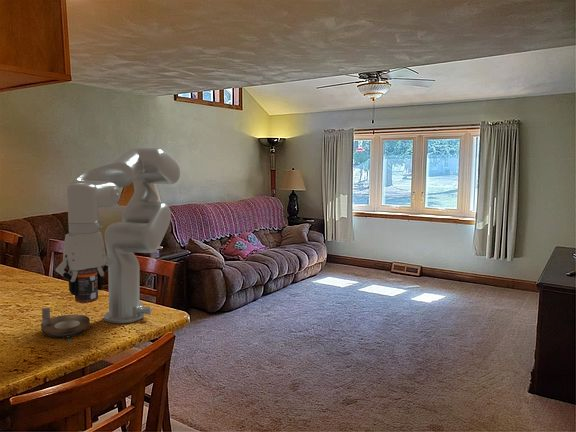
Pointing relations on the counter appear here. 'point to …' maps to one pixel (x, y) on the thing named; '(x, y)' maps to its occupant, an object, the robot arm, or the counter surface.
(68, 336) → the turntable base
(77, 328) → the turntable
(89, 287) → the supplement bottle
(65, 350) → the counter surface
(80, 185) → the robot arm
